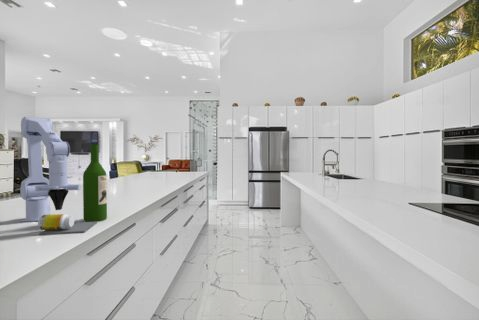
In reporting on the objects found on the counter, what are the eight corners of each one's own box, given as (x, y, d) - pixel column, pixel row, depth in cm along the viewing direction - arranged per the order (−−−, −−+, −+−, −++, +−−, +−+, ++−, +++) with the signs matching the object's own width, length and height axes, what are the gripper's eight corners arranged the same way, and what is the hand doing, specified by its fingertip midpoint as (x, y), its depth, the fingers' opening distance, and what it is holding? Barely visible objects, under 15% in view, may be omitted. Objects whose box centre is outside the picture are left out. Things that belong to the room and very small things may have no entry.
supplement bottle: (35, 229, 94) (66, 228, 95) (38, 213, 95) (69, 213, 96) (45, 230, 99) (74, 229, 100) (47, 215, 101) (76, 214, 102)
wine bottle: (100, 222, 111) (99, 144, 110) (78, 222, 111) (77, 144, 110) (110, 217, 119) (110, 145, 119) (91, 217, 120) (90, 145, 119)
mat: (58, 224, 107) (58, 223, 107) (97, 222, 109) (97, 221, 109) (39, 235, 93) (39, 233, 93) (84, 232, 96) (84, 230, 96)
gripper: (30, 174, 95) (30, 212, 95) (75, 174, 97) (75, 210, 98) (40, 173, 102) (41, 208, 102) (82, 172, 104) (82, 207, 105)
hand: (58, 209), depth 100 cm, fingers closed
